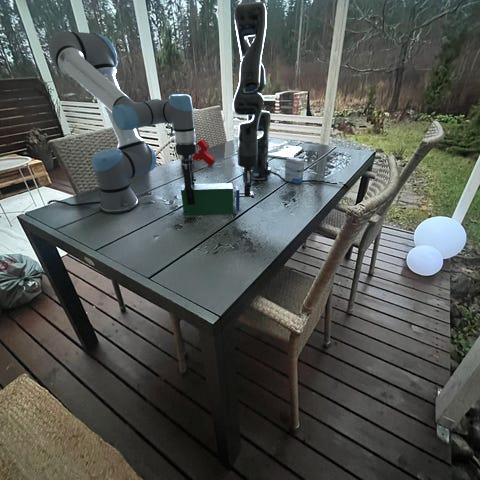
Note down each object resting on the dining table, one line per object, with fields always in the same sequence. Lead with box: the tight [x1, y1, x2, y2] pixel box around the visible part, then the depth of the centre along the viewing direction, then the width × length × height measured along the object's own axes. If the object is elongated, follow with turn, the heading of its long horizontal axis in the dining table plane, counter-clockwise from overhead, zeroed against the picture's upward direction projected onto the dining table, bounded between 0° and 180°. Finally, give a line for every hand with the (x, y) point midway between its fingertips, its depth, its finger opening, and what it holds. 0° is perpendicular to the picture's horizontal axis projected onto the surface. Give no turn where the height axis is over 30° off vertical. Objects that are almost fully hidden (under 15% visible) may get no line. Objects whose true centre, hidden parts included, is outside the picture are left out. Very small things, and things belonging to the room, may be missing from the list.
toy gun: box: [181, 138, 216, 167], centre depth 167 cm, size 18×4×15 cm
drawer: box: [235, 185, 255, 212], centre depth 112 cm, size 25×5×9 cm, turn 94°
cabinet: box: [180, 182, 234, 216], centre depth 112 cm, size 20×6×11 cm, turn 94°
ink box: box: [284, 156, 306, 185], centre depth 140 cm, size 8×5×12 cm, turn 47°
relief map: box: [268, 138, 304, 160], centre depth 192 cm, size 27×35×5 cm
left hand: (192, 200), depth 112 cm, fingers closed on cabinet, 6 cm apart
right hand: (247, 195), depth 112 cm, fingers closed
